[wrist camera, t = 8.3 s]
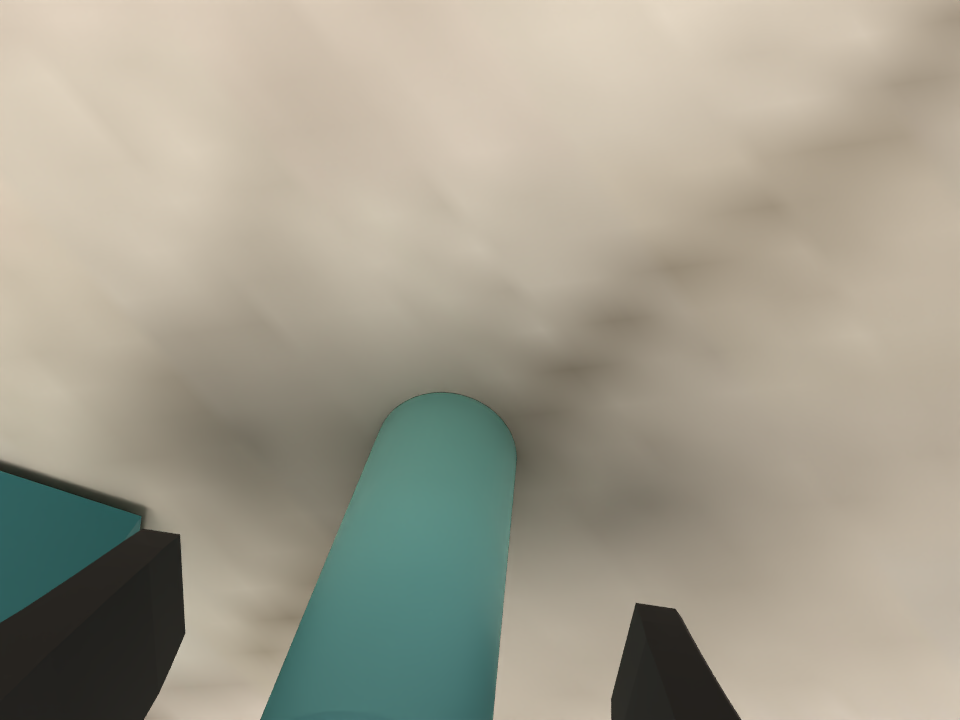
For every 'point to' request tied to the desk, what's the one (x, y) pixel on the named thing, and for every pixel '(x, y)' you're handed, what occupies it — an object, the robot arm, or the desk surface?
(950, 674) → the desk surface
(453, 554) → the dowel
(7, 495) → the teal l-shaped bracket
